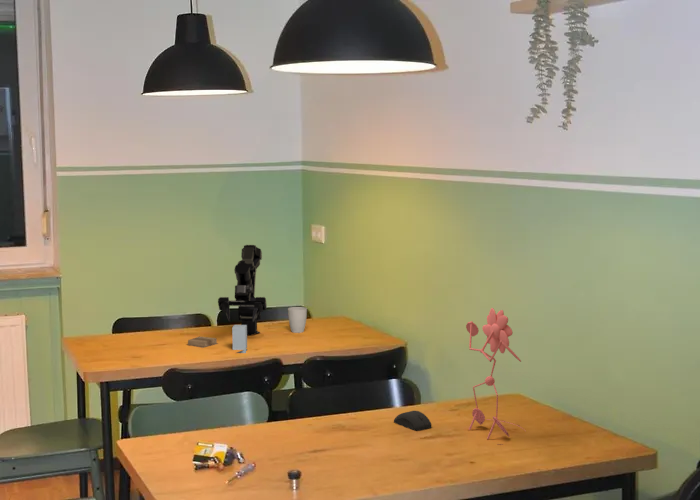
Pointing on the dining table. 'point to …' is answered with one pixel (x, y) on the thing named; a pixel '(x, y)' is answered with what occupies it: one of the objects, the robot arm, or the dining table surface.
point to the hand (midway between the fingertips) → (240, 321)
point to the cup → (297, 318)
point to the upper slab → (202, 341)
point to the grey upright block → (239, 338)
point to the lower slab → (203, 347)
